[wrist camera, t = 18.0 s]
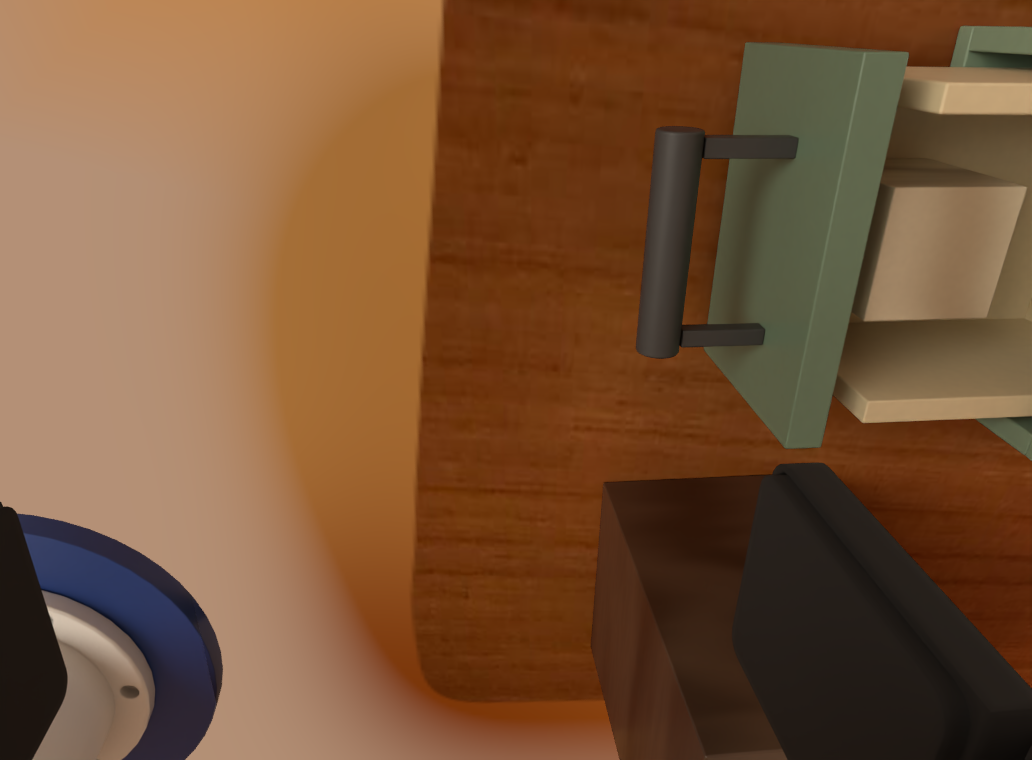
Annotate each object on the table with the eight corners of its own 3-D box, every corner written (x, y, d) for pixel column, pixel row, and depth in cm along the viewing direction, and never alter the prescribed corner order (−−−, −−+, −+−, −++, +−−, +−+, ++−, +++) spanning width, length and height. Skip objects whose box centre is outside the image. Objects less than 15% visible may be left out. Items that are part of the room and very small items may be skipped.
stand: (590, 646, 38) (669, 954, 26) (603, 482, 34) (705, 757, 21) (778, 633, 39) (942, 924, 26) (814, 472, 35) (1031, 729, 22)
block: (794, 273, 28) (863, 322, 24) (815, 157, 26) (895, 187, 22) (899, 271, 28) (987, 318, 24) (928, 158, 27) (1028, 186, 22)
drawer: (601, 353, 30) (653, 455, 23) (623, 40, 25) (698, 49, 18) (1011, 341, 32) (1176, 432, 25) (1108, 46, 27) (1350, 57, 20)
